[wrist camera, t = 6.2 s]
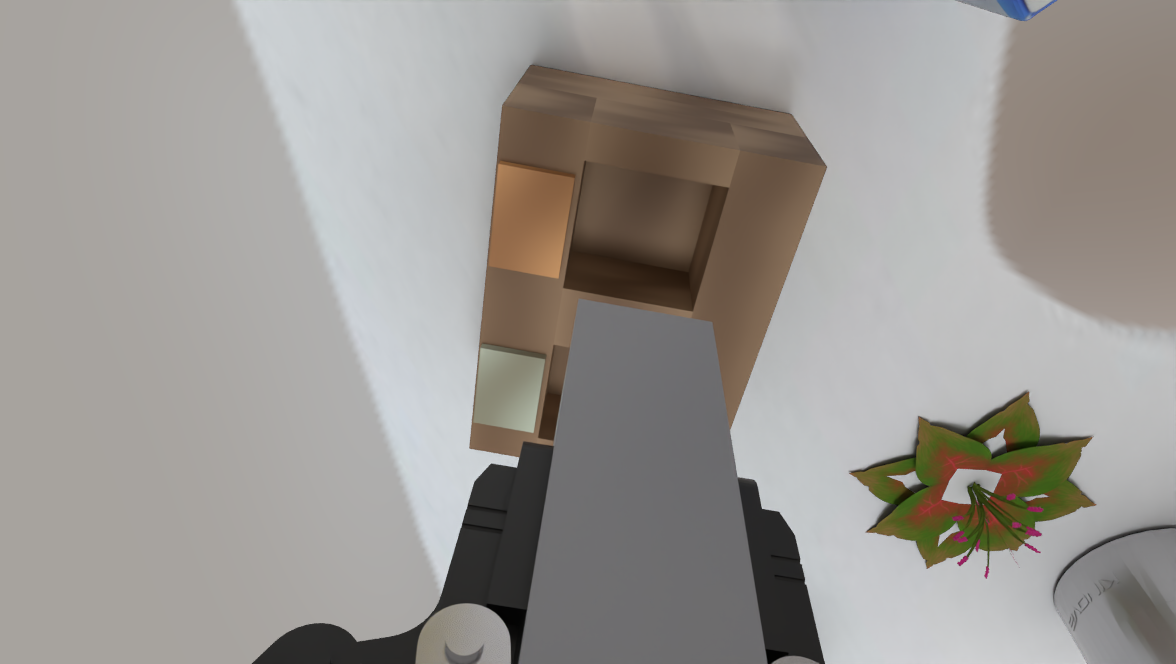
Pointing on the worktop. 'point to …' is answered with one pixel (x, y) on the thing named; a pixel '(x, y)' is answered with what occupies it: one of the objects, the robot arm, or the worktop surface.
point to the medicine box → (1012, 7)
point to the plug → (642, 504)
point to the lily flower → (1004, 512)
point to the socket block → (630, 232)
